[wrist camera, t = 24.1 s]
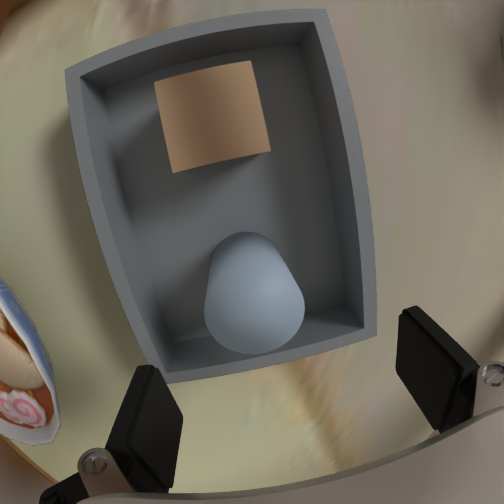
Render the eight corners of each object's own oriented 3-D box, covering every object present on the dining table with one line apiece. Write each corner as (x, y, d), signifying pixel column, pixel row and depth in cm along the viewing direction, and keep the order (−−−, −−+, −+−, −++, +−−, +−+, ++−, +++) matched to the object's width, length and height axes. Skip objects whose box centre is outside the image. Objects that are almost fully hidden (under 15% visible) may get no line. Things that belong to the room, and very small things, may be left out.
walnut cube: (244, 84, 17) (250, 60, 13) (260, 154, 19) (271, 151, 14) (171, 100, 17) (153, 82, 13) (186, 170, 19) (172, 173, 14)
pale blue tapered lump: (274, 224, 20) (296, 255, 14) (286, 289, 22) (309, 341, 15) (202, 240, 20) (191, 279, 14) (220, 304, 22) (219, 362, 15)
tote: (351, 305, 24) (376, 335, 19) (168, 346, 24) (158, 384, 19) (305, 37, 17) (325, 8, 13) (95, 85, 17) (64, 69, 12)
